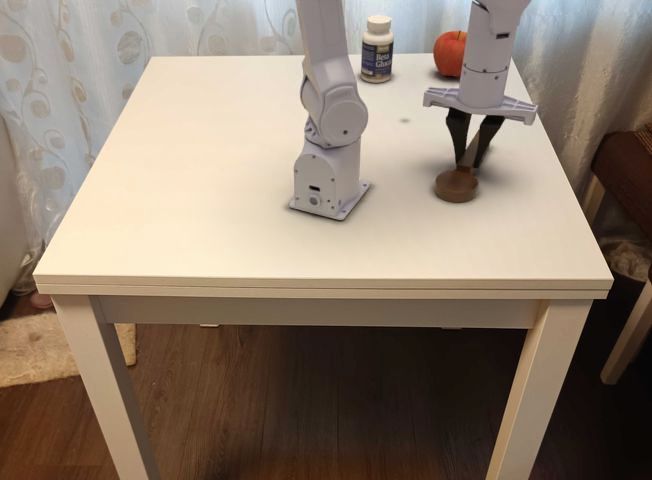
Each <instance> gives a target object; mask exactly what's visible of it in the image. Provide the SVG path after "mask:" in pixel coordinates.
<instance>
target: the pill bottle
mask: <svg viewBox="0 0 652 480" xmlns="http://www.w3.org/2000/svg"><path fill="white" fill-rule="evenodd" d="M391 27H392V18H391V17H390V16H388V15H383V14H374V15H370V16H368V17H367V19H366V29H367V30H366V31H364V32H363V34H362V38H361V62H360V66H361V67H360V77H361V79H362V80H364V81H366V82H368V83H375V84H376V83H377V84H380V83H385V82H387V81H389V80H390V79H391V77H392V70H393V57H394V43H395V35H394V33H393V32H392V31H391V30H390V29H391Z"/></svg>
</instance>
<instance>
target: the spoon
mask: <svg viewBox="0 0 652 480" xmlns="http://www.w3.org/2000/svg"><path fill="white" fill-rule="evenodd" d="M478 141H479V129H478V130H477V131H476V133H475V134H474V136H473V138H472V139H471V141H470V143H469V144H468V145H467V146H466V150H465V152H464V153H463V155H462V156H461V158H460V160H459V161H458V163H457V164H455V170H454V169H453V170H451V169H450V170H447V171H443V172H441V173H439V174H438V175H437V176H436V178H435V182H434V183H435V185H434V193H435V195H436V196H437V197H438V198H440V199H441V200H443V201H446V202H451V203H465V202H469V201H471V200H473V199H474V198H475V197H476V196H477V192H478V188H479V180H478V178H477V177H476V176H475V175H474V174H475V172H476V171H477V170H478V169H477V168H474V160H475V156H476V152H477V148H478ZM490 145H491V143H490V144H489V146H488V148H487V150H486V152H485V155H484V157H485V156H486V154H487V152H488V151H489V149H490V147H491V146H490Z"/></svg>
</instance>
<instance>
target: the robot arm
mask: <svg viewBox="0 0 652 480" xmlns="http://www.w3.org/2000/svg"><path fill="white" fill-rule="evenodd" d="M531 2H532V0H472V1H471V4H470V10H469V11H470V12H469V18H468V25H467V32H466V33H467V37H466V44H465V51H464V58H463V64H462V71H461V76H460V77H459V78H460V79H459V85H458V87H435V86H428V87H427V88H426V89H425V91H424V92H423V100H422V107H425V108H431V107H437V108H443V109H448V112H447V115H446V116H445V125H446V127H447V129H448V131H449V135H450V137H451V140H452V141H451V142H452V145H453V151H454V164H455V165H457V163H458V161H459V160H460V158H461V156H462V155H463V153H464V152H465V150H466V149H467V144H468V136H469V135H468V134H469V130H470V129H469V128H470V124H471V120H472V117H473V115H477V116H485V117H484V118H483V119H482V121H481V122H480V123H479V127H478V128H479V129H478V130H479V141H478V148H477V152H476V156H475V160H474V168H477V169H476V170H478V169H480V167H481V166H482V164H483V161H484V158H485V156H486V154H485V152H486V150H487V148H488V146H489V144H490V145H491V142H492V140H493V139H494V137H495V136H496V135H497V134H498V132H499V131H500V130H501V127H502V126H503V124H504V122H506V120H509V121H516V122H521V123H523V125H524V126H529V127H532V126H533V125H534V122H535V120H536V117H537V114H538V113H537V112H538V109H539V105H538V104H534V103H529V102H526V101H523V100H520V99H517V98H515V97H511V96H508V95H507V94H505V91H506V85H507V81H508V77H509V70H510V65H511V61H512V57H513V56H512V55H513V50H514V46H515V41H516V36H517V32H518V27H519V26H520V23H521V18H522V15H523V13H524V11H526V9H527V8H528V6H530V4H531ZM295 5H296V12H297V17H298V24H299V30H300V34H301V41H302V48H303V53H304V58H303V60H302V61H301V68H302V74H303V75H302V80H301V84H300V88H299V99H300V102H301V105H302V107H303V108H304V110H305V111H307V113H308V116H307V119H306V122H305V125H304V127H303V131H304V132H303V133H304V139H303V140H304V141H303V146H302V150H301V152H300V154H299V156H298V157H296V160H295V161H294V165H293V185H294V187H293V189H294V197H293V198H292V199H291V200H290V202H289V203H288V206H289V208H291V209H294V210H299V211H303V212H307V213H310V214H315V215H318V216H322V217H326V218H331V219H335V220H338V221H344V220H345V219H346V218H347V216H348V215H349V214H350V212H351V211H352V210H353V208H354V207H355V206H356V204H357V203H359V201H360V200H361V198H362V197H363V195H364V194H365V193H366V192H367V191H368V189H370V187H371V183H370V182H368V181H365V180H361V178H360V175H361V174H360V173H361V150H362V135H363V133H364V132H365V131H366V128H367V126H368V123H369V109H368V107H367V105H366V103H365V102H364V100H363V99H362V97H361V95H360V93H359V89H358V82H357V78H356V75H355V72H354V69H353V66H352V63H351V60H350V56H349V51H348V41H347V33H346V24H345V23H346V22H345V16H344V9H343V8H344V7H343V0H295ZM489 147H490V146H489ZM487 151H488V150H487ZM486 153H487V152H486ZM484 155H485V156H484Z"/></svg>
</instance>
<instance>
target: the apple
mask: <svg viewBox="0 0 652 480" xmlns="http://www.w3.org/2000/svg"><path fill="white" fill-rule="evenodd" d="M466 37H467V32H466V31H462V30H453V31H452V30H451V31H447V32H444V33H442V34H440V35H439V36H438V38H437V39H436V40H435V42H434V45H433V50H432V53H433V54H432V56H433V57H432V58H433V61H434V64H435V68H436V69H437V70H438V72H439V73H440V74H441V75H442V76H444V77H448V76H453V77H456V78H461V71H462V64H463V58H464V51H465V44H466Z"/></svg>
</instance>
